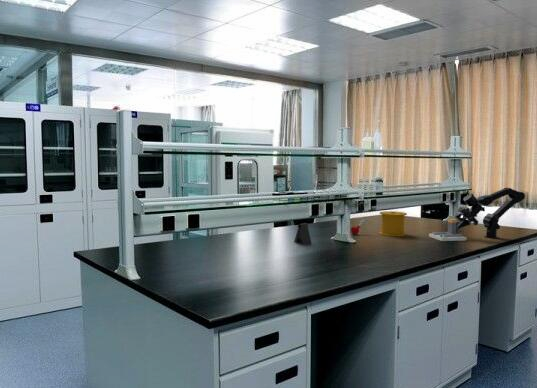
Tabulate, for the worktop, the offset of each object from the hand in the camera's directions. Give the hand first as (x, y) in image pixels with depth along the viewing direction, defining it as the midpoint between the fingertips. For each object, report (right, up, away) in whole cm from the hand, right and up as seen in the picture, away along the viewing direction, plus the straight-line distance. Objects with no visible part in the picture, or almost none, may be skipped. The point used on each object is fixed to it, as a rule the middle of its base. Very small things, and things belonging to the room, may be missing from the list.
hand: (457, 228), depth 287 cm
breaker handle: (-4, -4, 0) cm, 6 cm away
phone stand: (-103, -8, -18) cm, 105 cm away
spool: (-38, -5, +15) cm, 42 cm away
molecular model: (-65, -5, +12) cm, 66 cm away
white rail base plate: (-7, -7, -1) cm, 10 cm away
